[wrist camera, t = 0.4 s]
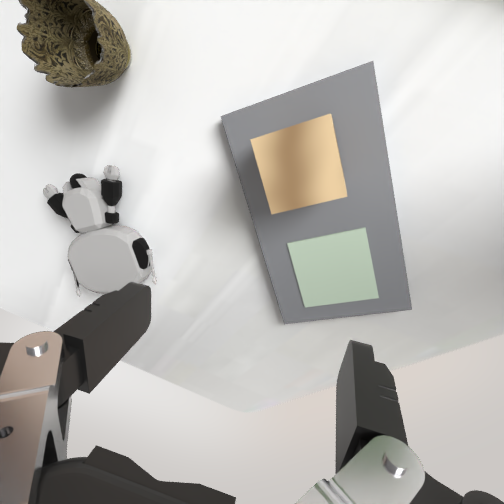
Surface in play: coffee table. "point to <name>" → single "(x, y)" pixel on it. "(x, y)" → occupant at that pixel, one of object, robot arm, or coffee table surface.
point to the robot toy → (100, 234)
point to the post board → (328, 205)
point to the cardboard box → (300, 165)
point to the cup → (74, 42)
